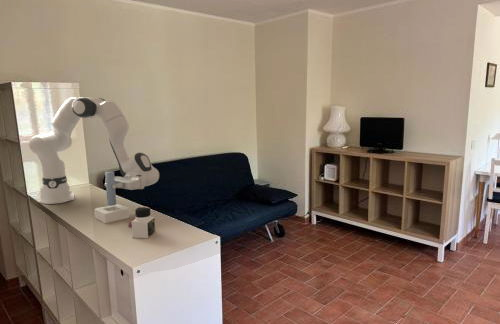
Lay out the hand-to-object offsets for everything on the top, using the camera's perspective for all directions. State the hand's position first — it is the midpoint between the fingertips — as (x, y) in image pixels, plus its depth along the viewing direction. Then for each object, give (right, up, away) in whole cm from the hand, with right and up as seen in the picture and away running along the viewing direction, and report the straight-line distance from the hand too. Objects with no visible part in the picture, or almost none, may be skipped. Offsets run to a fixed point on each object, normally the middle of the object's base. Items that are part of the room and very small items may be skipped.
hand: (108, 185), depth 165 cm
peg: (0, -9, +2) cm, 10 cm away
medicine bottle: (+23, -20, -20) cm, 36 cm away
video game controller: (+18, -18, -11) cm, 28 cm away
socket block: (0, -16, +3) cm, 16 cm away
